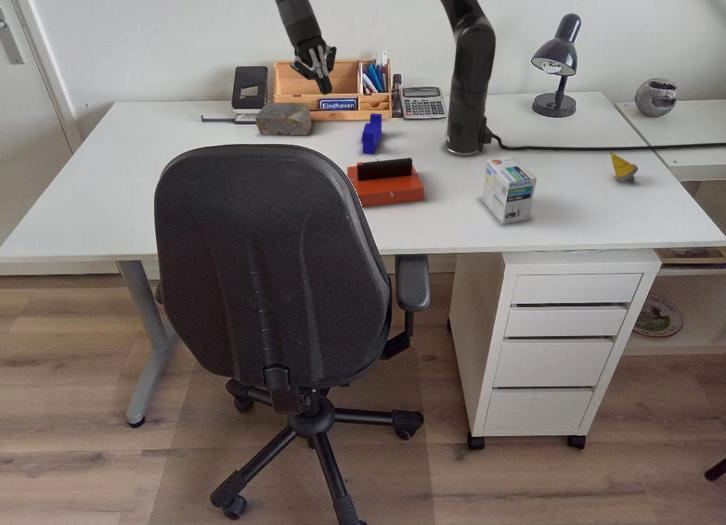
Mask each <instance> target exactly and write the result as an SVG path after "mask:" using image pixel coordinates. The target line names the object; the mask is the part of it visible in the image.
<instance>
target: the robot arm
mask: <svg viewBox="0 0 726 525" xmlns="http://www.w3.org/2000/svg"><path fill="white" fill-rule="evenodd" d="M439 1H440V3H441V4H442V6H443V9H444V11H445V13H446V14H445V15H446V16H447V19H448V22H449V25H450V28H451V32H452V34H453V39H454V40H453V41H454V44H455V55H454V65H453V66H454V67H453V73H452V75H451V81H450V92H449V102H448V103H449V104H448V115H447V124H446V131H444V138H445V143H444V148H445V151H447V152H448V153H450V154H452V155H454V156H459V157H460V156H461V157H469V156H474V155H477V154H478V153H480V152H483V151H484V145H491V144H492V141H493V139H495V140H496V141H497V144H498V147H499V148H501V149H503V150H506V151H526V150H529V151H530V150H532V151H533V150H534V151H559V152H561V151H564V152H567V151H568V152H615V151H620V152H622V151H650V150H651V151H653V150H671V149H691V148H713V147H726V142H710V143H709V142H707V143H704V142H703V143H688V144H687V143H685V144H666V145H665V144H664V145H663V144H662V145H642V146H640V145H639V146H637V145H636V146H585V147H583V146H576V147H575V146H541V145H540V146H538V145H537V146H536V145H523V146H522V145H521V146H507V145H505V144H503V140H502V138H501V137H500V136H498V135H496V134H494V133H493V132H492V130H491V129H490V128H489V127H488V126H487V121H488V117H487V116H486V108H487V107H486V106H487V98H488V91H489V84H490V80H491V78H492V75H493V71H494V70H493V69H494V64H495V56H496V49H497V35H496V32H495V29H494V27H493V25H492V24H491V21H490V20H489V18H488V17H487V16H486V13H485V12H484V10H483V8H482V7H481V5H480V3H479V1H478V0H439ZM274 2H275V4H276V7H277V11H278V14H279V17H280V21H281V23H282V25H283V27H284V29H285V32H286V35H287V37H288V39H289V42H290V45H291V46H292V48H293V50H294V56H295V58H294V60H293V62H291V63H290V65H289V66H290V68H291V69H292V70H294V71H295V72H296V73H298V74H299V75H301V77H303V78H305V79H306V80H307V81H315V83H316V84H317V87H318V90H319V92H320V93H321V94H322V95H323V96H326V95H329V94H331V93H333V85H332V82H331V79H330V77H329V74H330V73H331V72H333V71H334V68H335V63H336V62H335V61H336V57H337V51H338V50H337V47H336V46H335V45H334V46H330V45H328V44H327V42H326V40H325V39H324V38H323V36H322V30H321V28H320V25H319V22H318V20H317V17H316V14H315V12H314V9H313V7H312V4H311V1H310V0H274Z"/></svg>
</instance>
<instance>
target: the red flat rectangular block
mask: <svg viewBox="0 0 726 525" xmlns="http://www.w3.org/2000/svg"><path fill="white" fill-rule="evenodd" d="M376 161H380V160H379V158H376ZM346 172H347V178H348V177H349V179H350V181H351V182H352V184H353V186H354V188H355V189H356V192H357V194H358V197H359V199H360V201H361V204H362V207H361V208H368V207H377V206H385V205H393V204H401V203H411V202H418V201H419V202H420V201H424V196H425V186H424V184H423V182H422V180H421V178H420V176H419V174H420V172H419V171H417V170H416V168H415V166H414V163H412V175H409V176H400V177H390V178H381V179H372V180H363V181H358V179H357V165H353V166H347V167H346Z"/></svg>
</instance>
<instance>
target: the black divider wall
mask: <svg viewBox="0 0 726 525" xmlns="http://www.w3.org/2000/svg"><path fill="white" fill-rule="evenodd" d="M412 164H413V159H412V157H404V158H396V159H395V158H394V159H385V160H379V161H377V160H376V161H366V162H362V161H359V162H357V163H356V166H357V179H358V181H363V180H372V179H381V178H390V177H400V176H409V175H412Z"/></svg>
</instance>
